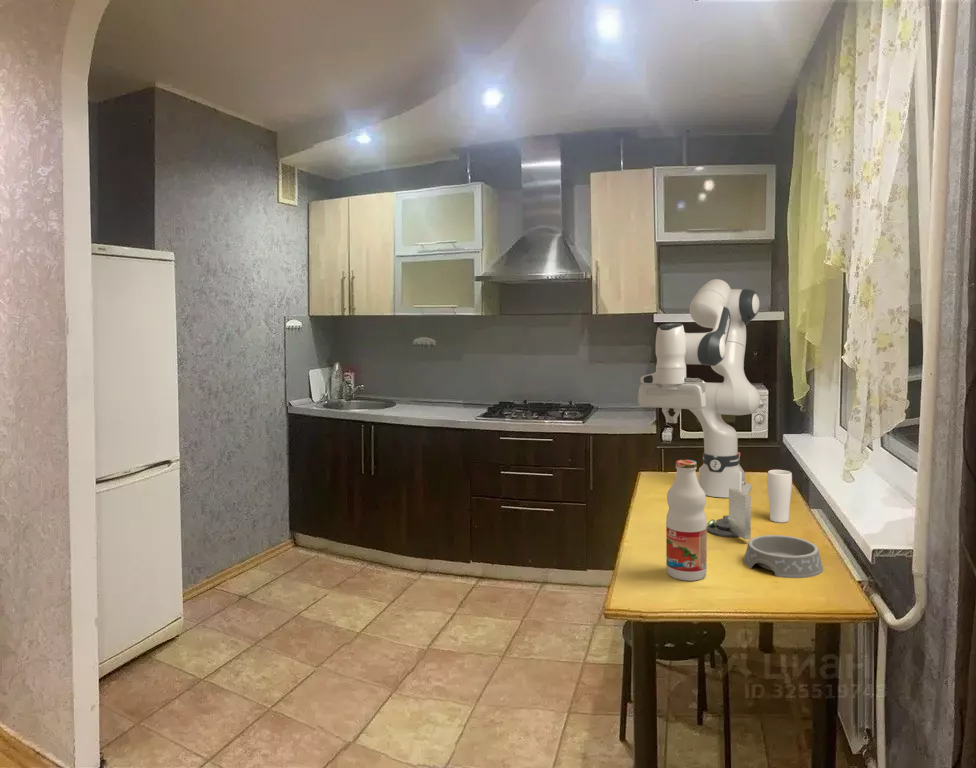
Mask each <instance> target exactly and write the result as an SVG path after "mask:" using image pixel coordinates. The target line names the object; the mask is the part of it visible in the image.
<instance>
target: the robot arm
mask: <svg viewBox="0 0 976 768" xmlns="http://www.w3.org/2000/svg"><path fill="white" fill-rule="evenodd" d="M689 304H690V305H689V315H690V317H691V319H692V320H693V321H694V322H695V324H697V325H698V326H700V327H703V328H708V329H712V330H711V331H708V332H686V331H685V328H684V325H683V324H682V323H679V322H667V323H663V324H660V326H658V327H657V330H656V334H655V335H656V336H655V356H656V364H655V371H654V372H651V373H649V374H645V375H642V376H641V377H640V378H639V379H640V381H639V382H640V386H639V388H638V394H637V402H638V403H637V404H638V405H639V406H640V407H641V408H642V407H643V408H644V407H645V408H656V409H657V408H661V412H662V413H663V416H664V417H665V423H667V424H668V423H669V424H677V423H678V417H679V416H680V413H681V411H682V410H689V411H690V412H691V413H693V415H694V416H695V417H696V418H697V420H698V421H699V424H700V426H701V428H702V433H703V446H704V448H703V449H704V451H703V453H702V463H703V464H702V465H701V466H700V467H699V468H698V477H697V479H698V482H699V485H700V487H701V488H702V489H703V491H704V492H705V495H706V497H707V496H708V497H714V498H729V489H731V488H735V489H737V490H739V491H741V492H743V493H745V494H747V495H749V496H750V494H751V489H752V484H751V483H748V482H746V473H745V471H744V469H743V468H742V466H741V464H740V460H741V459H740V457H741V452H739V451H738V450H739V449H738V443H739V442H738V440H739V438H738V437H739V436H738V432H737V431H736V429H735V428H734V427H733V426H731V425H730V424H728V423H726V422H725V421H724V419H723V418H722V415H725V416H726V415H727V416H730V415H731V416H744V415H745V416H746V415H753V414H754V413H756V412H757V410H758V409H759V407H760V405H761V395H760V393H759V390H758V389H757V388H756V386H754V385H753V384H752V383H751V382H750V381H749V380H748V378H747V376H746V374H745V369H744V367H745V363H744V362H745V353H746V345H747V327H746V326H747V325H748V324H750V323H751V321H752V320H753V319H755V317H756V316H757V314H758V312H759V309H760V298H759V294H758V293H757V292H756V291H755V290H754V289H750V288H743V289H740V288H731V287H730V285H729V284H728V283H727V282H726V281H725V280H722V279H719V278H716V279H715V278H714V279H711V280H709V281H708V282H706V283H705V284H703V286H702V287H700V289H699V290H698V291H697V293H696V294H695V295H694V297H693V298H692V300H691V302H690V303H689ZM687 365H703V366H710V367H711V370H713V371H714V372H715V373H716V374H718V375H720V376H722V377H723V382H706V381H704V380H703V379H701V378H700V377H695V378H694V377H693V378H692V377H687ZM670 409H673V412H674V415H672V416H671V415H670V413H669V411H670Z"/></svg>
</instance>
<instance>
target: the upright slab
mask: <svg viewBox="0 0 976 768" xmlns="http://www.w3.org/2000/svg"><path fill="white" fill-rule="evenodd" d="M751 504H752V496H751V495H750V494H749V495H747V494H745V493H743V492H741V491H739V490H737V489H735V488H731V489H729V497H728V515H723V516H722V518H718V519H716V520H715V523H716V527H717V528H720V529H724V530H730V531H732V532H733V533H735V534H737V535H738V536H740V537H739V538H742V539H744V540H745V541H746V540H751V539H752V538H751V532H752V531H751V524H752V523H751V522H752V521H751V519H752V517H751V514H752V513H751V512H752V511H751V509H752V505H751Z"/></svg>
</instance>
